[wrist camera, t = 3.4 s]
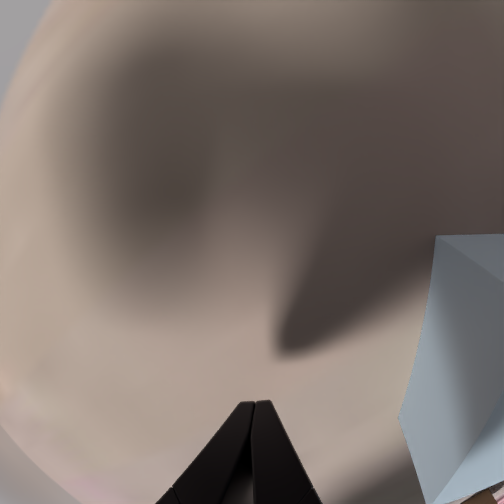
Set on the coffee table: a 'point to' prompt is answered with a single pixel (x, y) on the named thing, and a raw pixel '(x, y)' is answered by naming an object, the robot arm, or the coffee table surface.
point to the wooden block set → (482, 498)
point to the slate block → (459, 372)
